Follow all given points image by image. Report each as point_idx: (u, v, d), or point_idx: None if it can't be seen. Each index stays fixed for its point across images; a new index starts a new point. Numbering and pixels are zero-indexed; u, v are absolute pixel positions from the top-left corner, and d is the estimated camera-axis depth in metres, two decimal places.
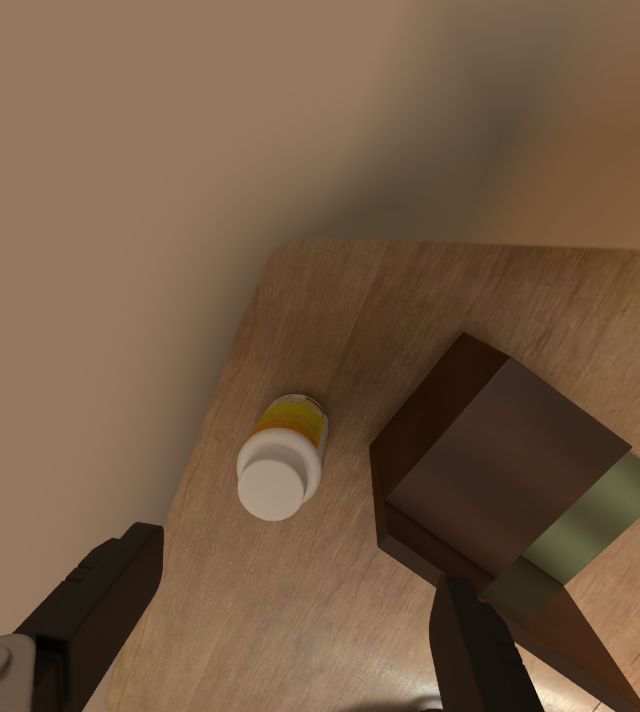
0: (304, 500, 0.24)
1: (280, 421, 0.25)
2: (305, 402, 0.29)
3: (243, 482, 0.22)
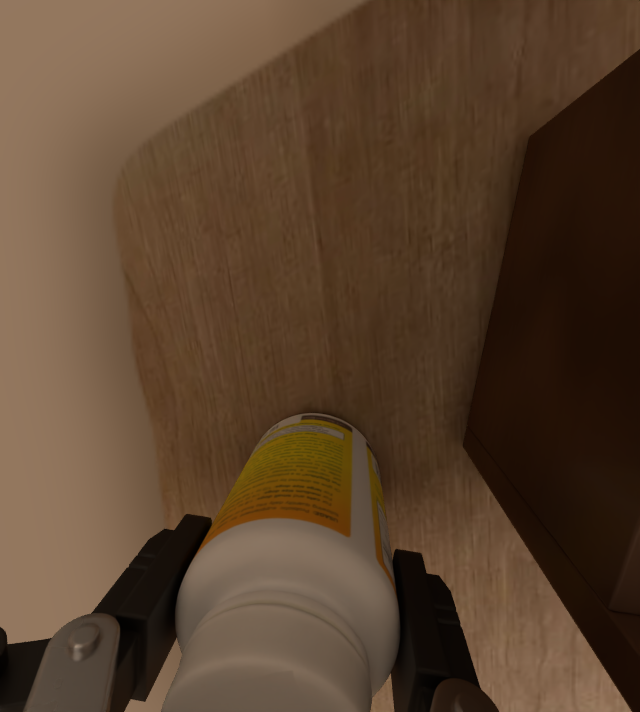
0: (383, 677, 0.09)
1: (241, 503, 0.10)
2: (301, 427, 0.14)
3: None
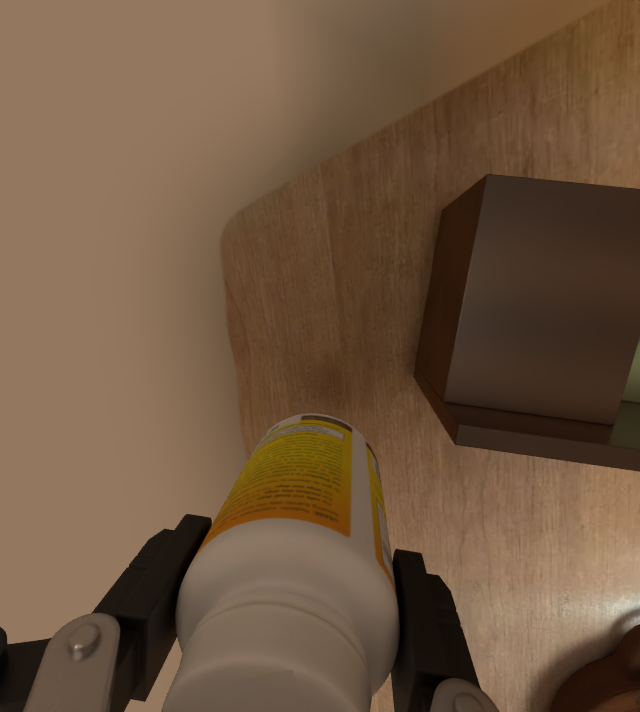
0: (383, 677, 0.09)
1: (241, 503, 0.10)
2: (301, 427, 0.14)
3: None
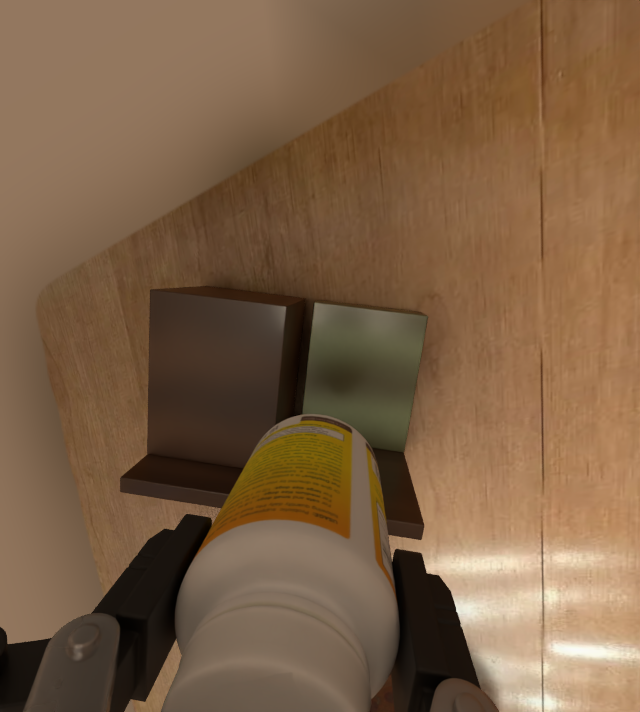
0: (382, 679, 0.09)
1: (240, 504, 0.10)
2: (301, 428, 0.14)
3: None
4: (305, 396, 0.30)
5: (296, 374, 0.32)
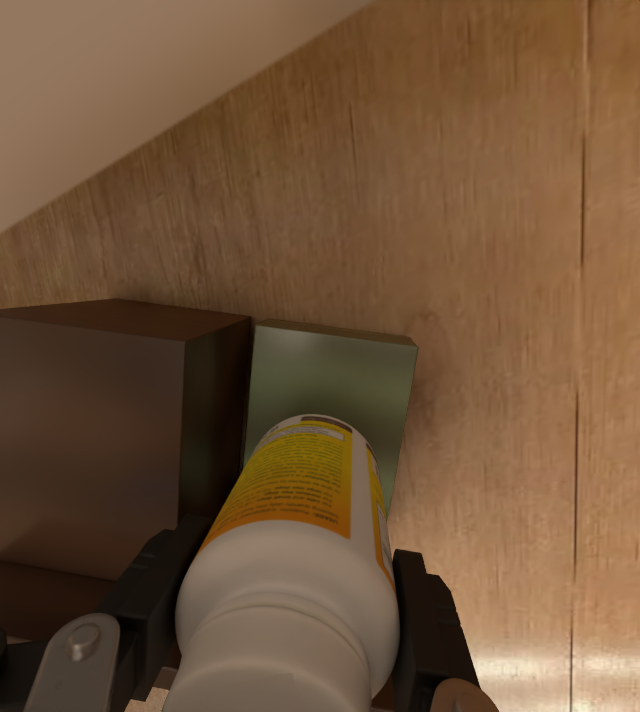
0: (383, 679, 0.09)
1: (241, 504, 0.10)
2: (301, 428, 0.14)
3: None
4: (246, 456, 0.21)
5: (238, 420, 0.23)
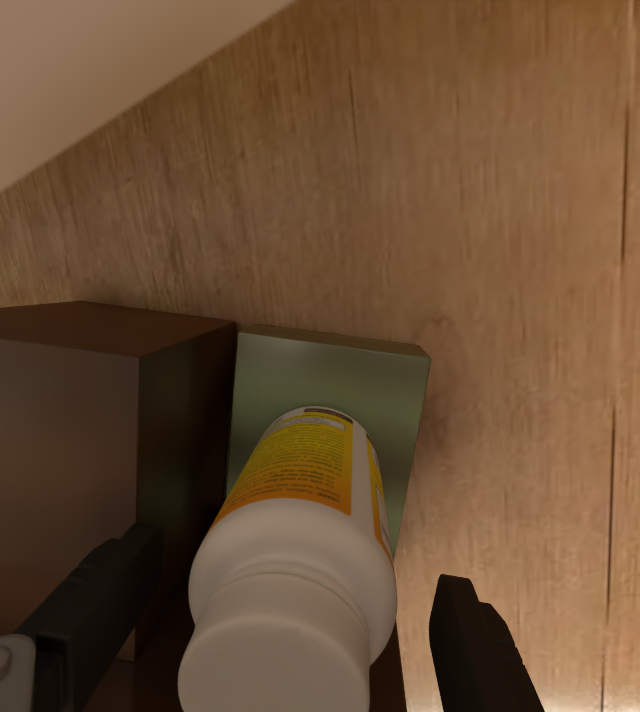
0: (381, 645, 0.09)
1: (249, 486, 0.11)
2: (304, 418, 0.15)
3: (193, 706, 0.08)
4: (229, 484, 0.18)
5: (222, 441, 0.20)
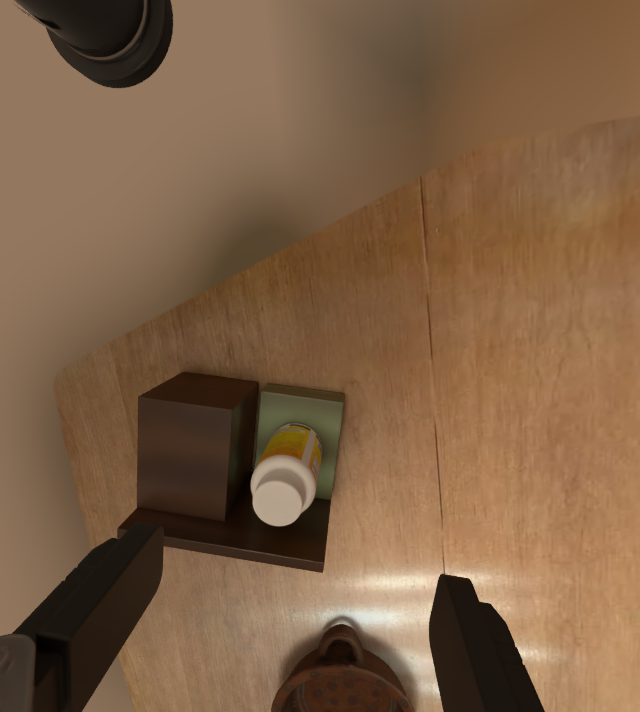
0: (310, 499, 0.31)
1: (269, 452, 0.33)
2: (289, 429, 0.37)
3: (256, 506, 0.29)
4: (256, 458, 0.40)
5: (251, 439, 0.42)
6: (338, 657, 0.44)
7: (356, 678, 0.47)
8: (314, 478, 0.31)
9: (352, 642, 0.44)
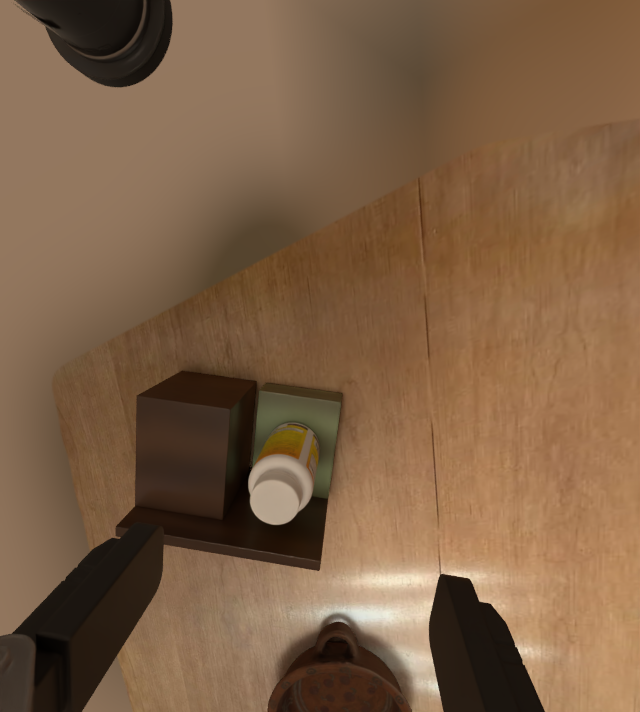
0: (307, 498, 0.31)
1: (266, 451, 0.33)
2: (287, 428, 0.37)
3: (254, 505, 0.30)
4: (254, 457, 0.40)
5: (249, 437, 0.42)
6: (334, 654, 0.44)
7: (352, 675, 0.48)
8: (311, 477, 0.32)
9: (349, 639, 0.44)
